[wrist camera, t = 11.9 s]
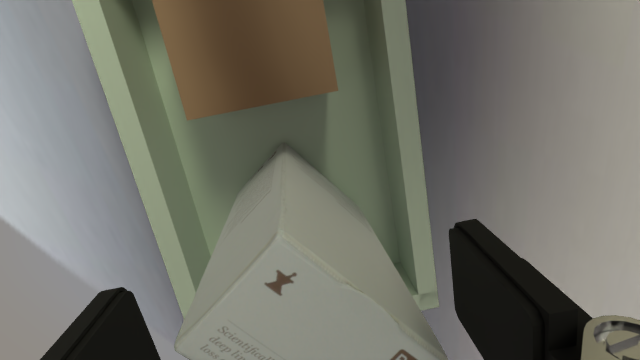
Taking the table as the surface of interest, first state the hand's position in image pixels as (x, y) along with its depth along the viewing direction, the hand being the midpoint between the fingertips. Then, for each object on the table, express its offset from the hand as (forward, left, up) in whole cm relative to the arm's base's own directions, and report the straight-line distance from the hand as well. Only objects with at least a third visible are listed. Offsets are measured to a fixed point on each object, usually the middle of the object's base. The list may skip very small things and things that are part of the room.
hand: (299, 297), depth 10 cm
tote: (0, -3, -11) cm, 11 cm away
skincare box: (0, +1, -10) cm, 10 cm away
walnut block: (0, -8, -10) cm, 13 cm away
